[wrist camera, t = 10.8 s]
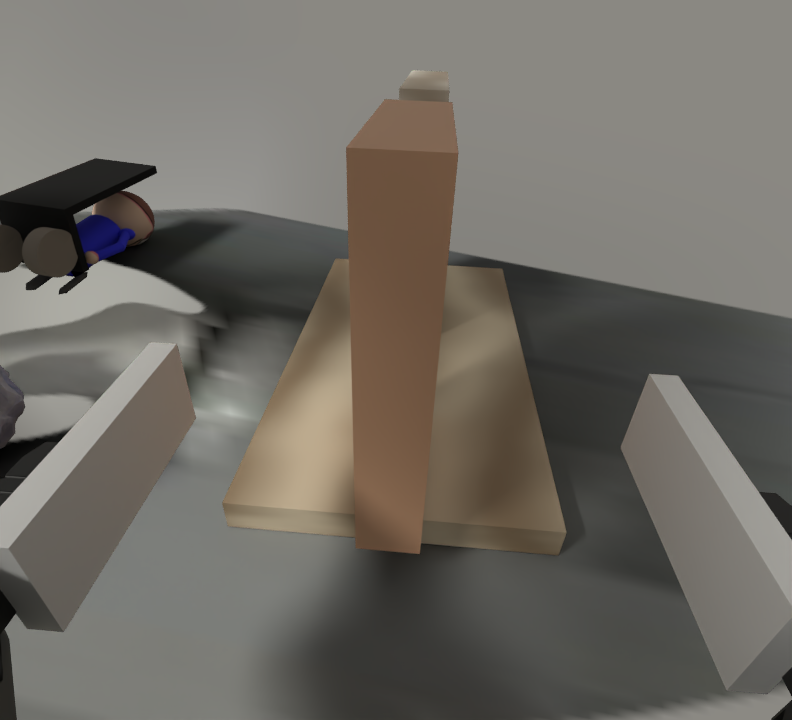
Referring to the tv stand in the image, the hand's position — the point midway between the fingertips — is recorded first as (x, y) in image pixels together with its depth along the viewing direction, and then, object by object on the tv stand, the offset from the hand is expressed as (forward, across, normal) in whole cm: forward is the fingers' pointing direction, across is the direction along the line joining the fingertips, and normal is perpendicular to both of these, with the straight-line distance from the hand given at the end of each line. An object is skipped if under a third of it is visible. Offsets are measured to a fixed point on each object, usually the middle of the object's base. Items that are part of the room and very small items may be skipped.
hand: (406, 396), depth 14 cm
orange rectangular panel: (+4, 0, -7) cm, 9 cm away
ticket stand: (+15, 0, -9) cm, 17 cm away
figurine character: (+27, -28, -10) cm, 40 cm away
